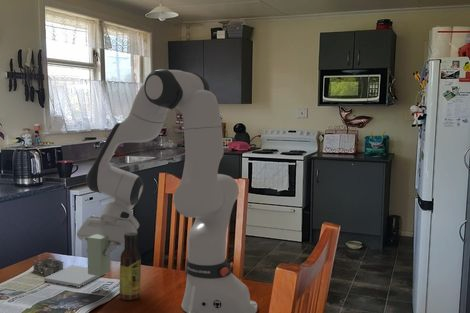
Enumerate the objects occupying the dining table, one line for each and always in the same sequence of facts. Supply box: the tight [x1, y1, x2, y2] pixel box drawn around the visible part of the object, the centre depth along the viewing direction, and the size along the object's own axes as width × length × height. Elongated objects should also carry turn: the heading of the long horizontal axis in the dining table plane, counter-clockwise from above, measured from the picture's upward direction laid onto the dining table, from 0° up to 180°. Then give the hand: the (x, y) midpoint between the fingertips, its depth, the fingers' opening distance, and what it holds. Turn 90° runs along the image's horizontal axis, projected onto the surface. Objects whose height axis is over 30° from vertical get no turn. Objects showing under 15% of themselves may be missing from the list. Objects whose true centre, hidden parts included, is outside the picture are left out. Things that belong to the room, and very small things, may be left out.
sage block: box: [86, 234, 111, 277], centre depth 149 cm, size 5×5×12 cm
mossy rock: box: [31, 257, 65, 274], centre depth 164 cm, size 11×8×4 cm
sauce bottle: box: [119, 232, 142, 301], centre depth 141 cm, size 6×6×20 cm
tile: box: [43, 264, 101, 288], centre depth 157 cm, size 14×14×1 cm
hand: (96, 254), depth 148 cm, fingers closed on sage block, 5 cm apart
